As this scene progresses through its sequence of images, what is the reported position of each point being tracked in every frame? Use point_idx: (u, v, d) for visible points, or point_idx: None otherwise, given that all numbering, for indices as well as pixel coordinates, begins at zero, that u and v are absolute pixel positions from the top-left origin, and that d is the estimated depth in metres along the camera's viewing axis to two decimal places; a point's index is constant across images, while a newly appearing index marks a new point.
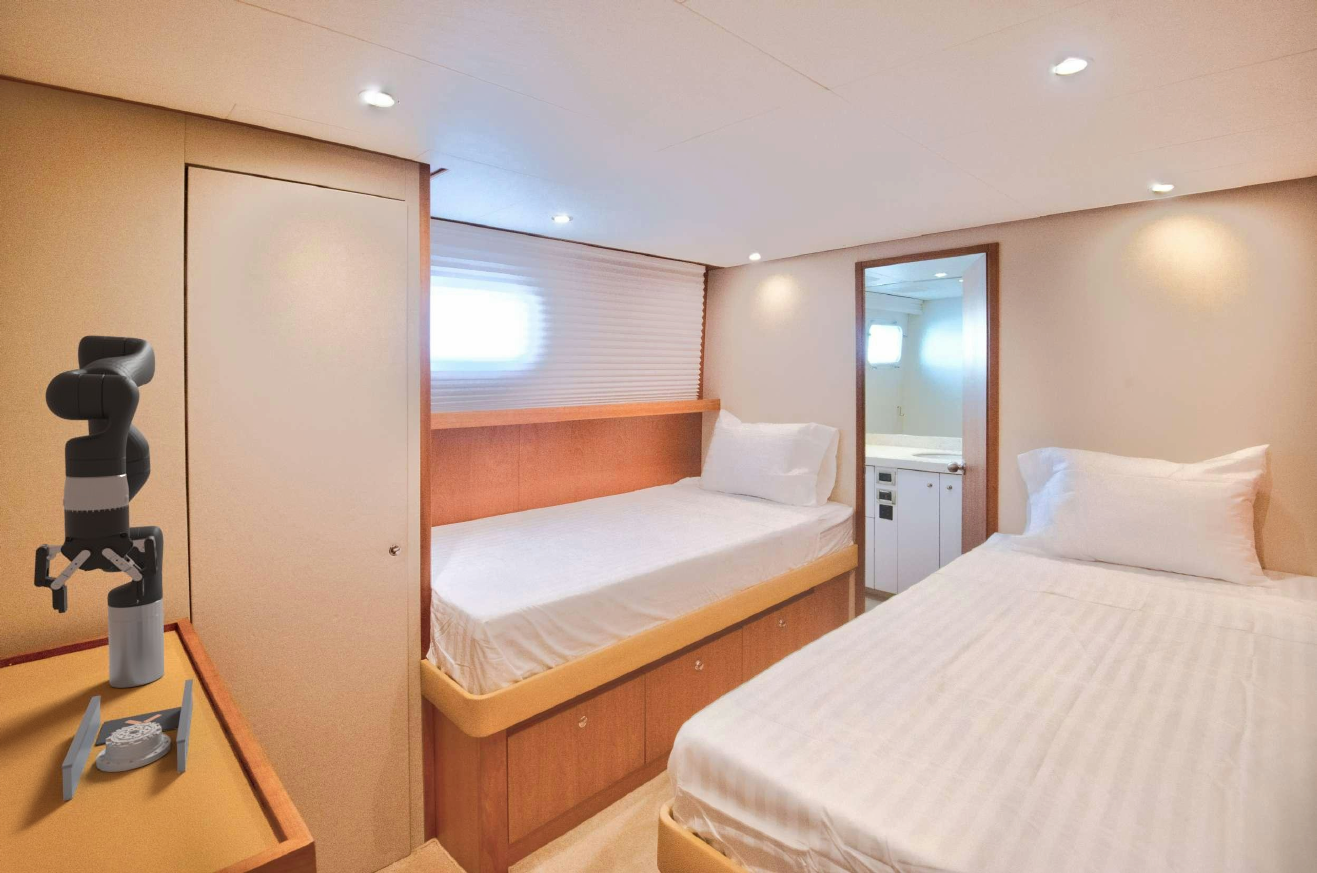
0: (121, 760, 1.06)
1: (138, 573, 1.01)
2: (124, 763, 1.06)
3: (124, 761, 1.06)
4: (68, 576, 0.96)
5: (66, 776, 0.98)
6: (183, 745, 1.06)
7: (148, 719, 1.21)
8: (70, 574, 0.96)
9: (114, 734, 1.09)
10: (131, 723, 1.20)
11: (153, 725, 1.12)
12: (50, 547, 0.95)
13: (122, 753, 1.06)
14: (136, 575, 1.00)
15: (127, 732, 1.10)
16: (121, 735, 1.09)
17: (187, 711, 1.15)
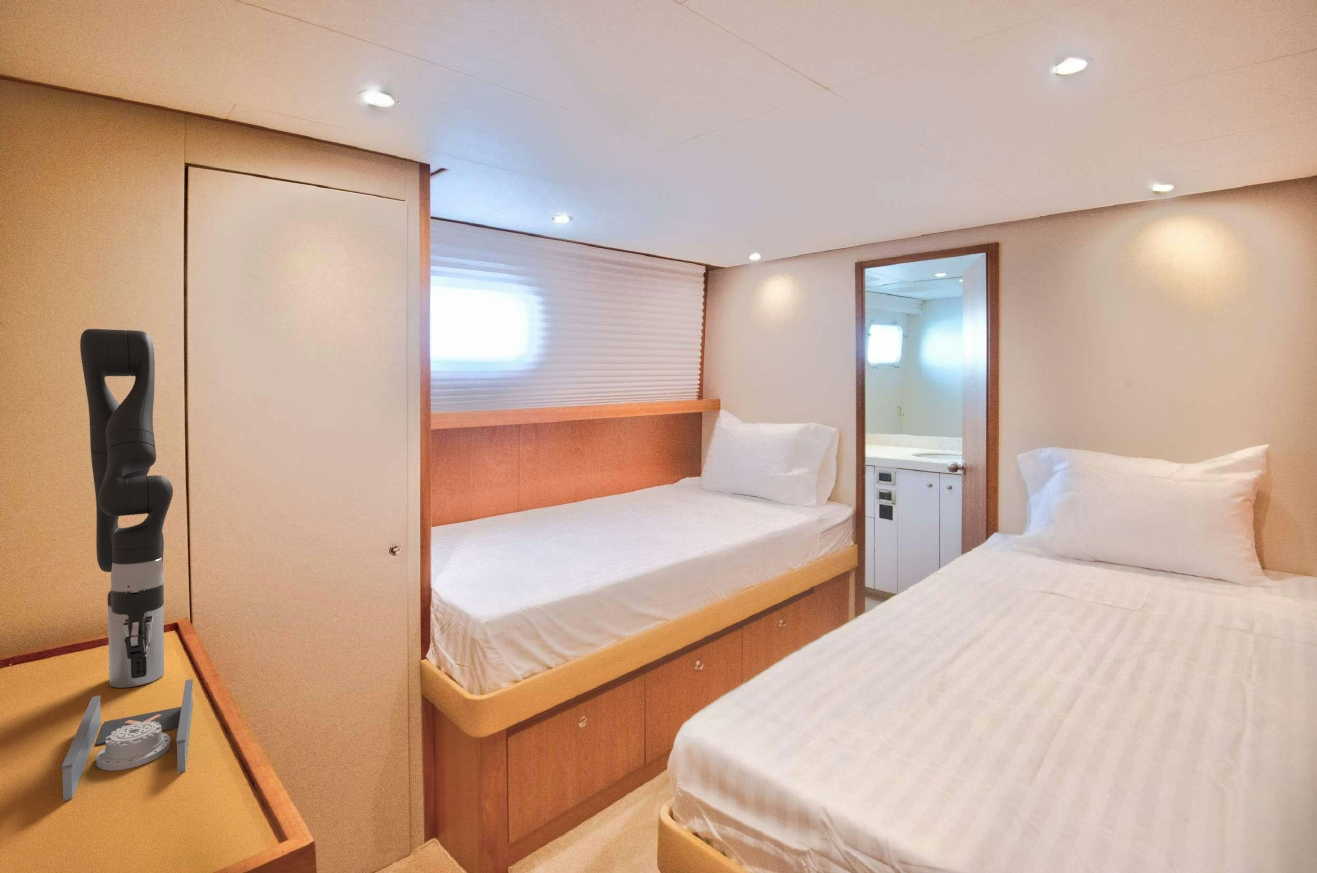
0: (121, 759, 1.07)
1: (147, 647, 1.20)
2: (124, 762, 1.06)
3: (124, 760, 1.07)
4: (148, 642, 1.18)
5: (66, 776, 0.98)
6: (183, 745, 1.06)
7: (148, 719, 1.21)
8: (149, 640, 1.18)
9: (114, 733, 1.09)
10: (131, 723, 1.20)
11: (153, 724, 1.13)
12: (137, 633, 1.14)
13: (122, 751, 1.07)
14: (147, 648, 1.19)
15: (127, 731, 1.10)
16: (121, 734, 1.09)
17: (187, 711, 1.15)
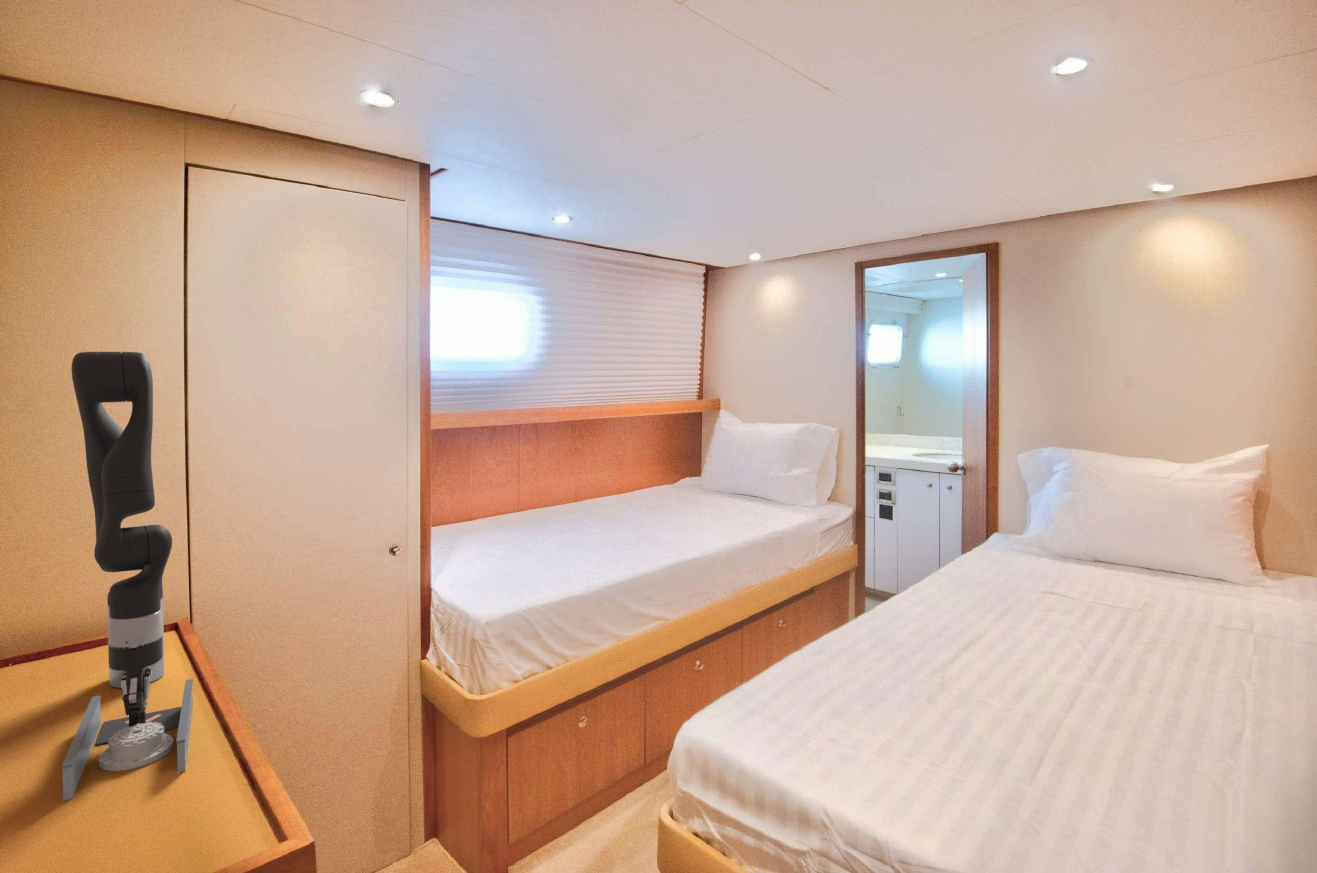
0: (125, 760, 1.07)
1: (146, 700, 1.16)
2: (128, 762, 1.06)
3: (128, 760, 1.07)
4: (147, 696, 1.15)
5: (66, 776, 0.98)
6: (183, 745, 1.06)
7: (148, 719, 1.21)
8: (148, 694, 1.15)
9: (116, 734, 1.09)
10: None
11: (155, 725, 1.13)
12: (136, 690, 1.10)
13: (126, 752, 1.07)
14: (146, 702, 1.16)
15: (129, 732, 1.10)
16: (124, 735, 1.09)
17: (187, 711, 1.15)
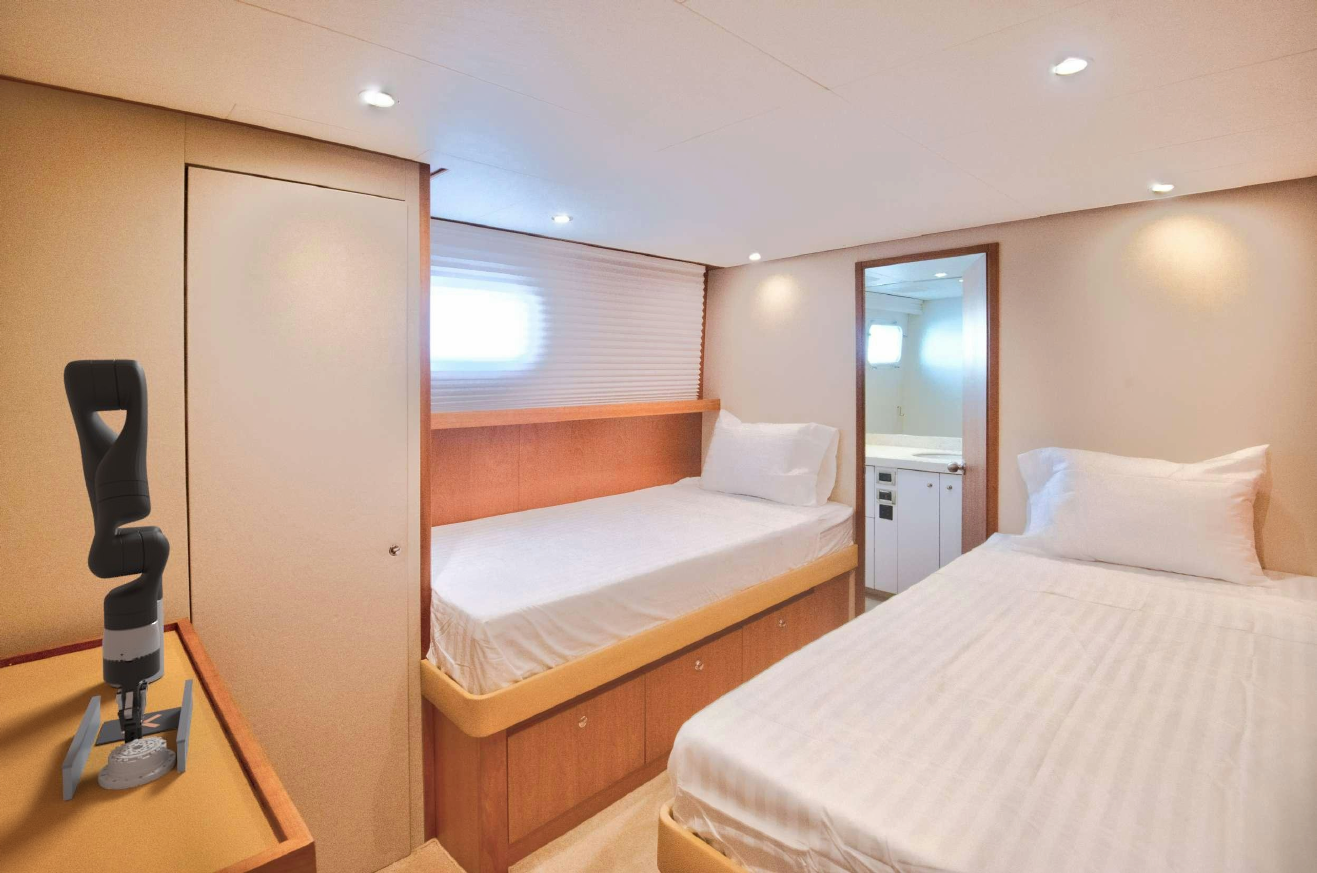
0: (129, 776, 1.02)
1: (142, 715, 1.11)
2: (134, 779, 1.02)
3: (133, 777, 1.02)
4: None
5: (66, 776, 0.98)
6: (183, 745, 1.06)
7: (148, 719, 1.21)
8: None
9: (116, 751, 1.04)
10: None
11: (156, 739, 1.08)
12: (131, 705, 1.05)
13: (130, 769, 1.02)
14: (142, 716, 1.11)
15: (130, 748, 1.05)
16: (124, 751, 1.04)
17: (187, 711, 1.15)
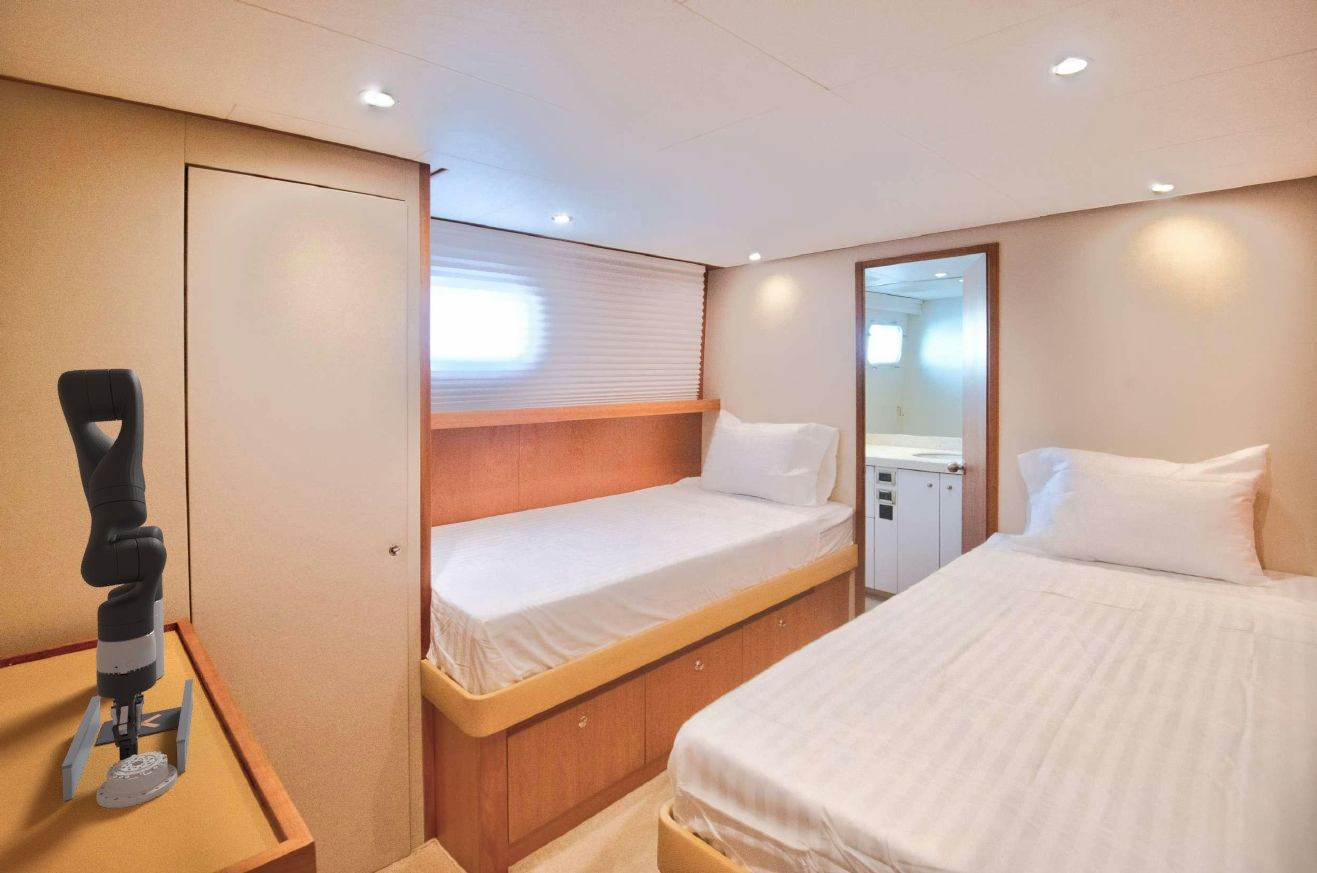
0: (131, 794, 0.98)
1: (138, 730, 1.06)
2: (137, 796, 0.98)
3: (135, 794, 0.98)
4: (139, 725, 1.05)
5: (66, 776, 0.98)
6: (183, 745, 1.06)
7: (148, 719, 1.21)
8: None
9: (114, 768, 1.00)
10: None
11: (156, 754, 1.04)
12: (126, 720, 1.00)
13: (132, 786, 0.98)
14: (138, 731, 1.06)
15: (129, 764, 1.01)
16: (124, 768, 1.00)
17: (187, 711, 1.15)
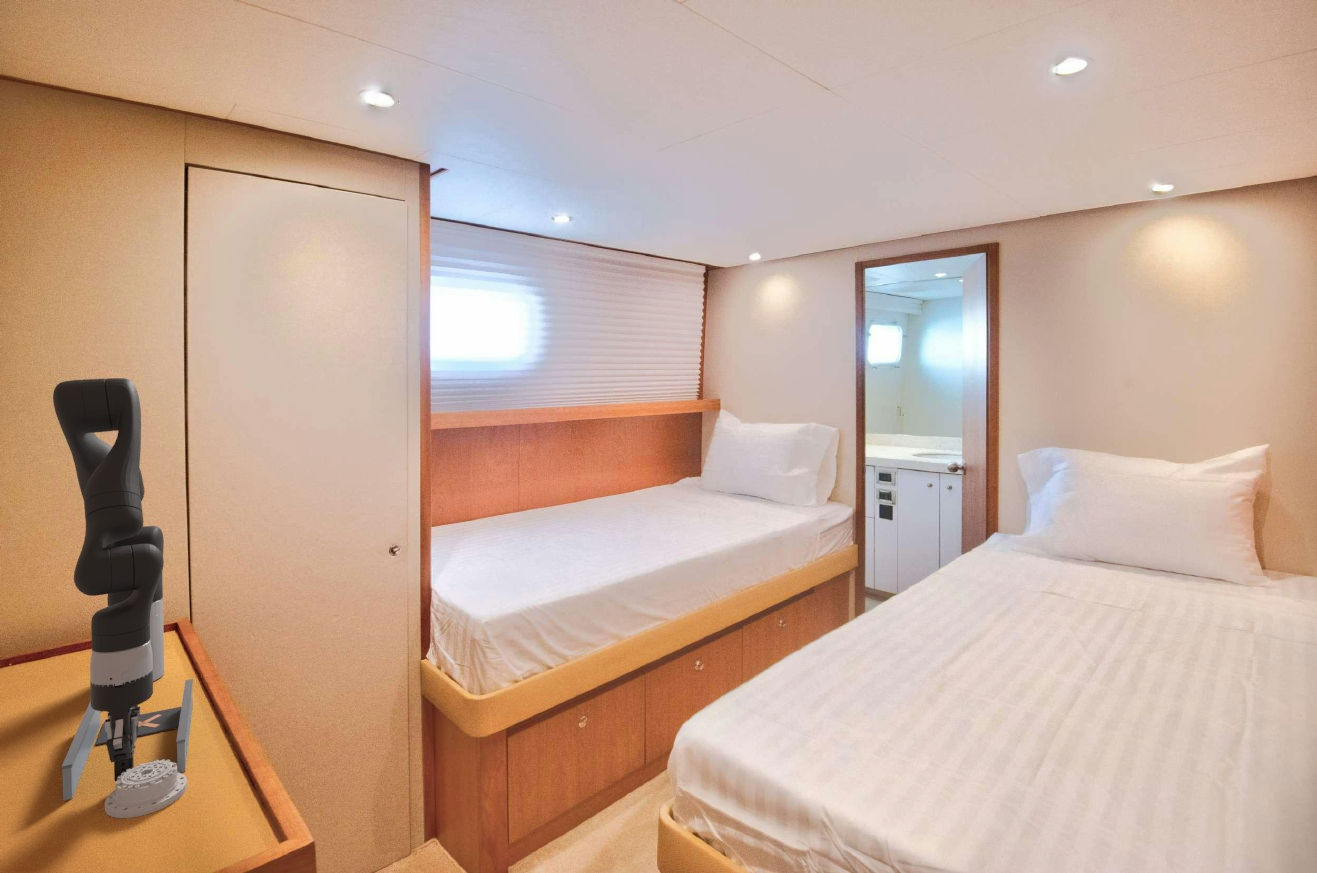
0: (141, 803, 0.96)
1: (134, 743, 1.02)
2: (147, 806, 0.96)
3: (145, 804, 0.96)
4: (135, 739, 1.01)
5: (66, 776, 0.98)
6: (183, 745, 1.06)
7: (148, 719, 1.21)
8: (136, 736, 1.01)
9: (123, 777, 0.97)
10: None
11: (165, 762, 1.02)
12: (121, 734, 0.96)
13: (142, 795, 0.96)
14: (134, 745, 1.02)
15: (138, 773, 0.98)
16: (133, 777, 0.97)
17: (187, 711, 1.15)
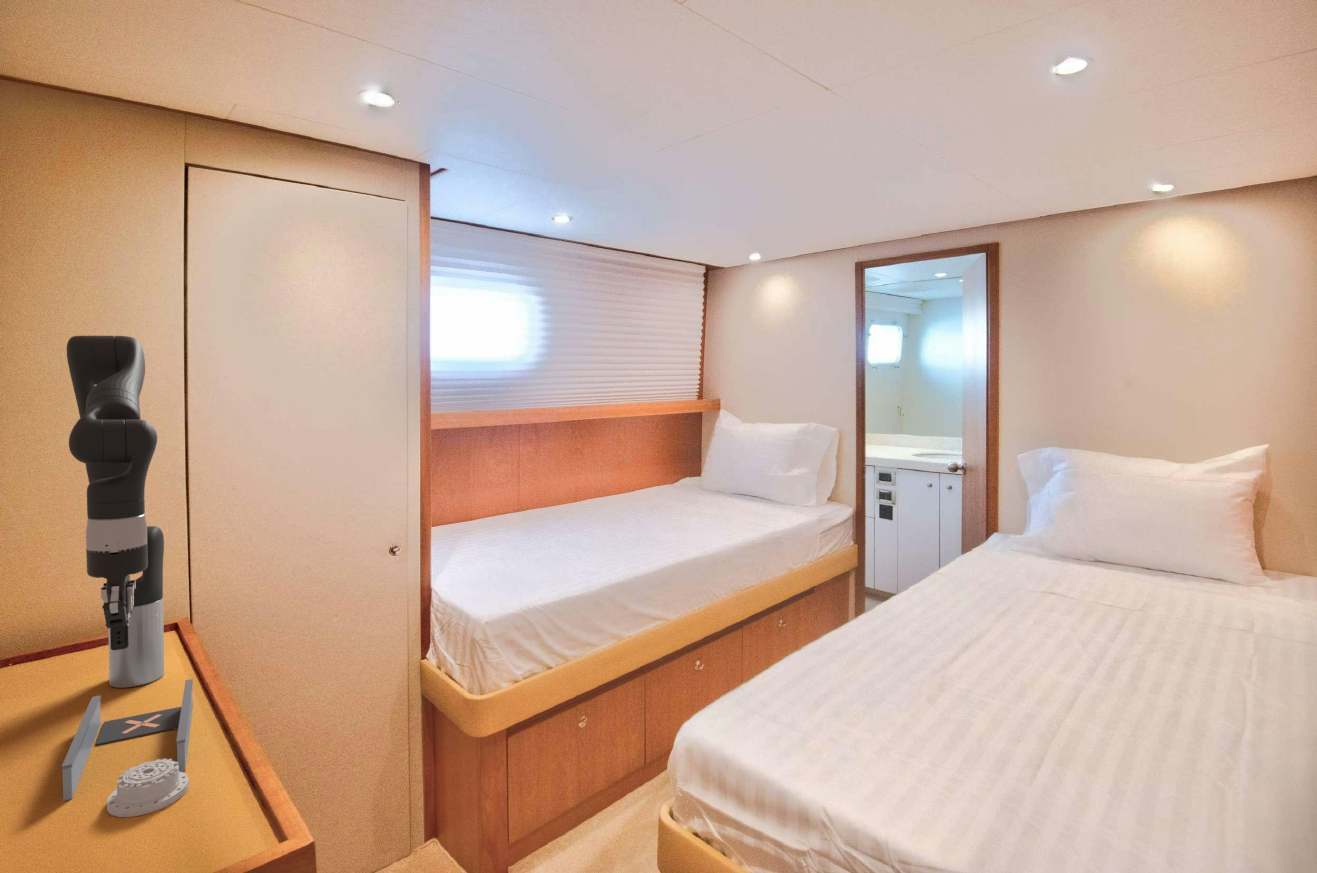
0: (143, 802, 0.96)
1: (129, 615, 1.05)
2: (149, 805, 0.96)
3: (147, 803, 0.96)
4: None
5: (66, 776, 0.98)
6: (183, 745, 1.06)
7: (148, 719, 1.21)
8: None
9: (125, 776, 0.98)
10: (131, 723, 1.20)
11: (166, 761, 1.02)
12: (117, 599, 0.99)
13: (144, 794, 0.96)
14: (129, 617, 1.05)
15: (140, 772, 0.99)
16: (135, 776, 0.98)
17: (187, 711, 1.15)
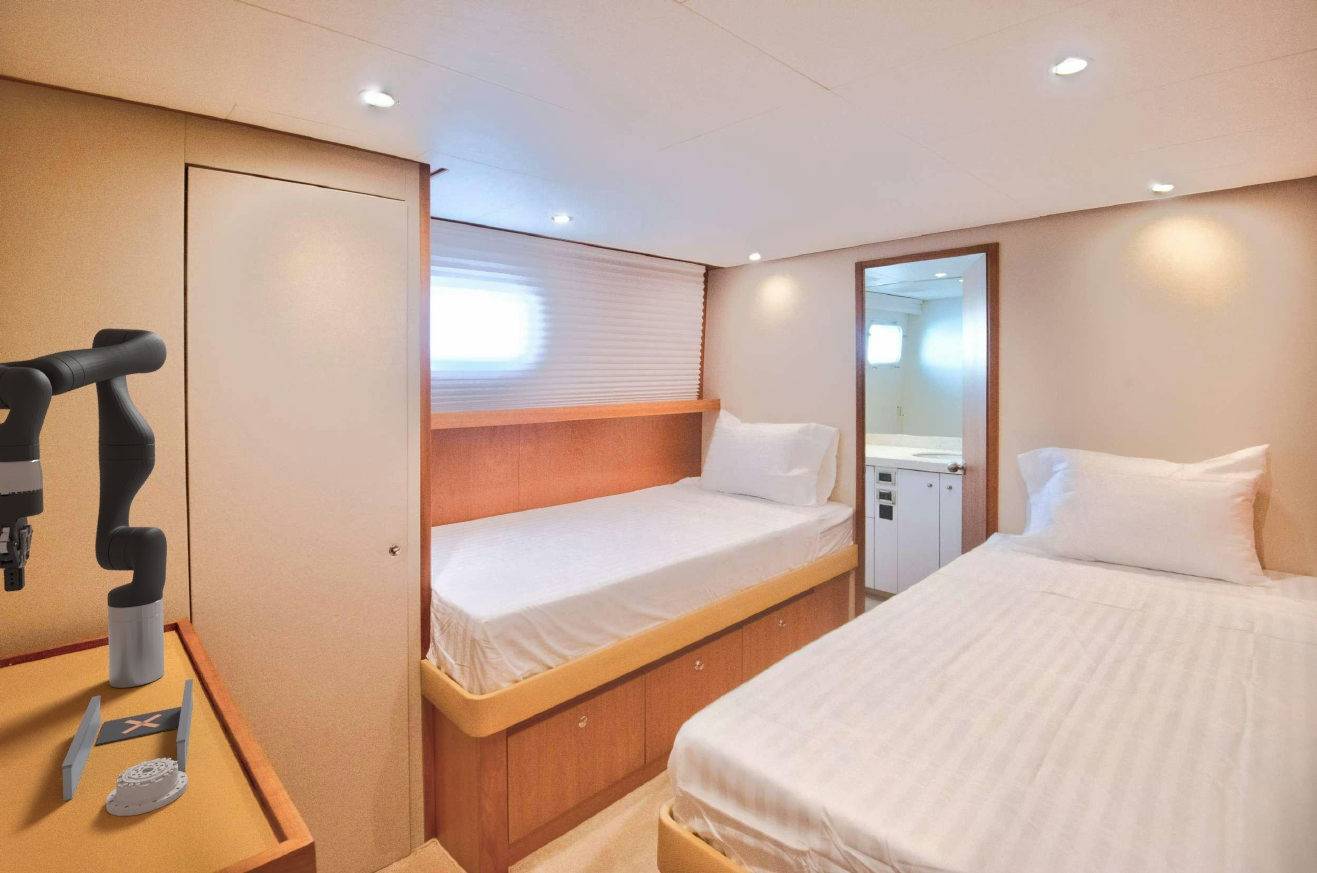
0: (142, 801, 0.96)
1: (25, 559, 1.08)
2: (147, 804, 0.96)
3: (146, 802, 0.96)
4: (25, 552, 1.07)
5: (66, 776, 0.98)
6: (183, 745, 1.06)
7: (148, 719, 1.21)
8: (26, 550, 1.07)
9: (124, 775, 0.98)
10: (131, 723, 1.20)
11: (166, 760, 1.02)
12: (7, 539, 1.02)
13: (143, 793, 0.96)
14: (25, 560, 1.08)
15: (139, 771, 0.99)
16: (134, 775, 0.98)
17: (187, 711, 1.15)
